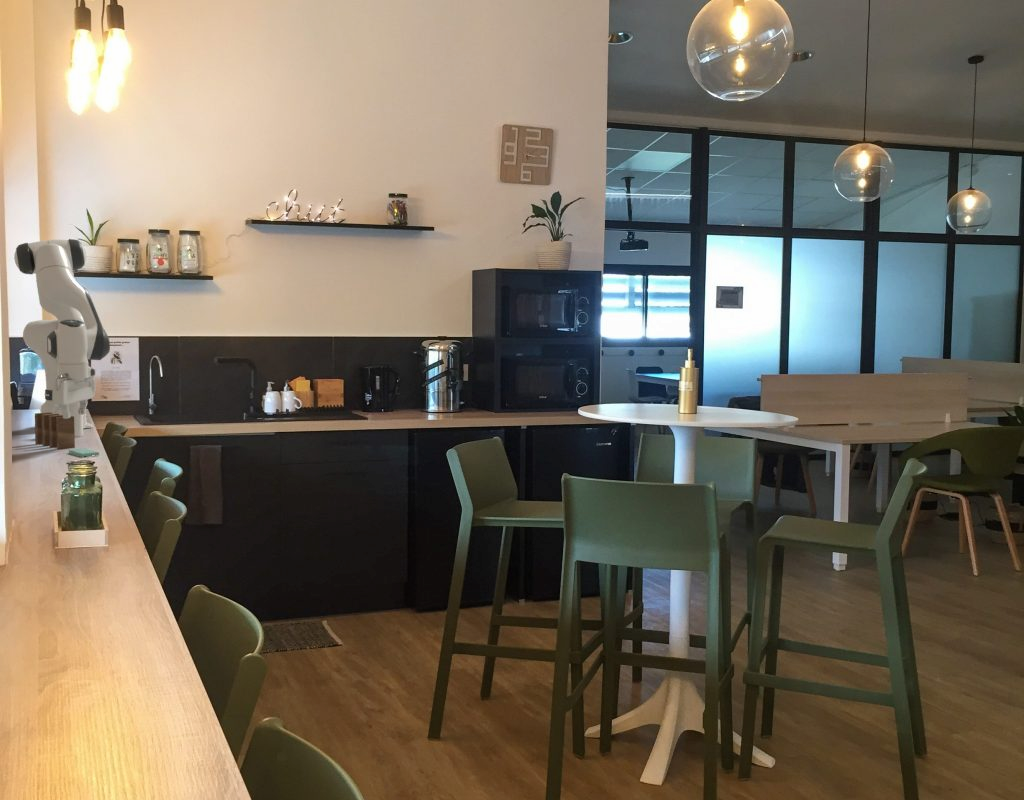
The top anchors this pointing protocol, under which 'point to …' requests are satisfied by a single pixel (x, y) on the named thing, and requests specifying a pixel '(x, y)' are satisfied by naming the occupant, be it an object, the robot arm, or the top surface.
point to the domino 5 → (83, 452)
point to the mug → (77, 417)
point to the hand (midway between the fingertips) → (74, 416)
